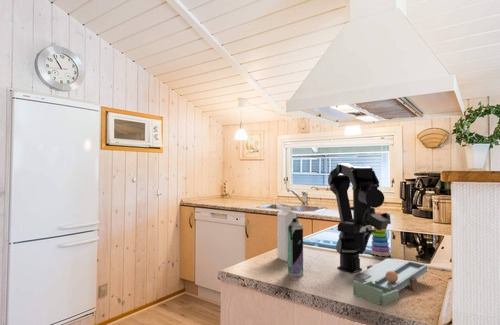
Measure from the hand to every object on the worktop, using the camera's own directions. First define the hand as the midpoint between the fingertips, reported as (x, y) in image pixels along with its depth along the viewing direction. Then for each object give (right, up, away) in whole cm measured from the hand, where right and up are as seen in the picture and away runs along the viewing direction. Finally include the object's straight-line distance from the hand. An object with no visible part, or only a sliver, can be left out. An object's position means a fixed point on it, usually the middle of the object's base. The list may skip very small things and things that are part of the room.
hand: (362, 251), depth 100 cm
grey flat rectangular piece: (+9, -8, 0) cm, 12 cm away
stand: (+9, -10, 0) cm, 14 cm away
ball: (+6, -6, -6) cm, 11 cm away
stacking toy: (+20, -12, +33) cm, 40 cm away
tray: (0, -10, -11) cm, 15 cm away
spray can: (-21, -11, +8) cm, 25 cm away
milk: (-22, -11, +27) cm, 37 cm away
